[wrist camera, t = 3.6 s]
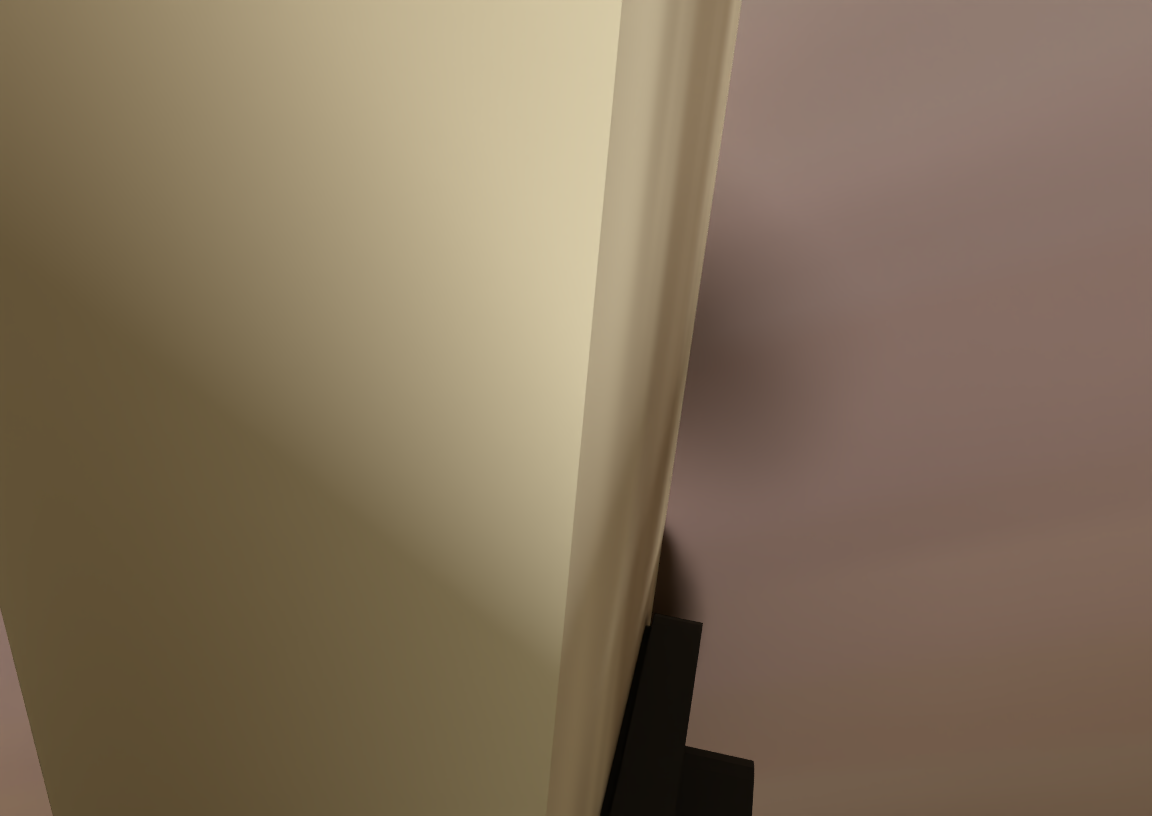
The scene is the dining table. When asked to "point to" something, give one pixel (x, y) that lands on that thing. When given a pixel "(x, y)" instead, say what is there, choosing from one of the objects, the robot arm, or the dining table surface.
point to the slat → (343, 390)
